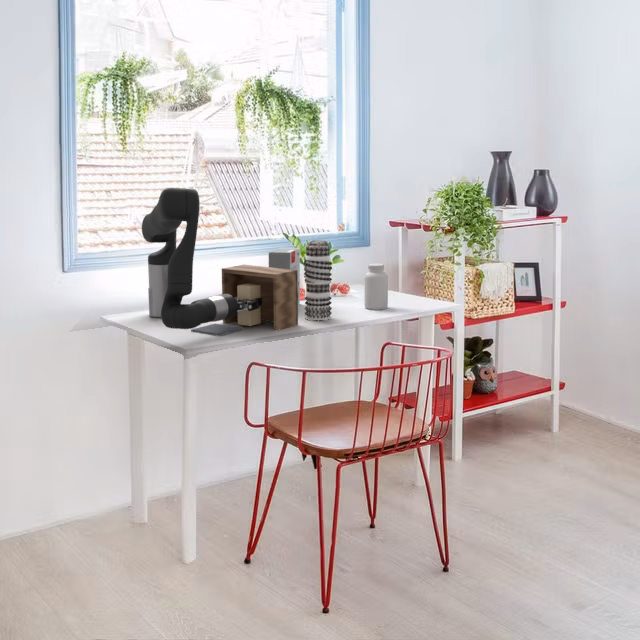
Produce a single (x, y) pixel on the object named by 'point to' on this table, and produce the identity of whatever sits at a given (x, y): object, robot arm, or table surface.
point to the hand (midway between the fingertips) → (254, 300)
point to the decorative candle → (317, 280)
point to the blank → (251, 293)
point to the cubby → (267, 291)
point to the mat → (217, 329)
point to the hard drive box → (286, 261)
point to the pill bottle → (376, 287)
